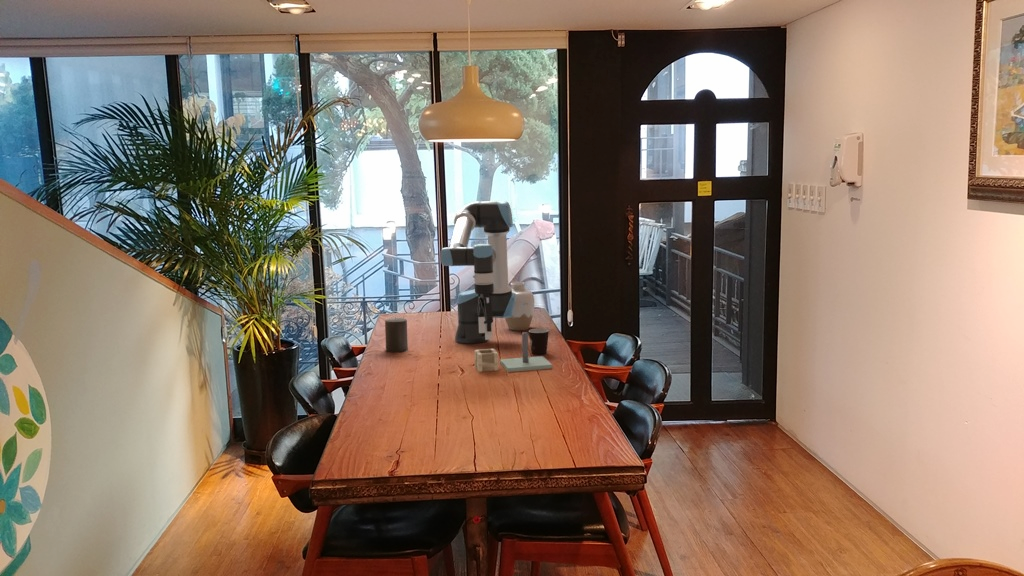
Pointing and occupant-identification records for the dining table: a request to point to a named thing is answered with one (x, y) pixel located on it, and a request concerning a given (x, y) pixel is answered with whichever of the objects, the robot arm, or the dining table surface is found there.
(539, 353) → the coffee mug
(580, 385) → the dining table surface
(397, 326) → the pillar candle
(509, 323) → the vase
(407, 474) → the dining table surface
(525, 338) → the rod stand
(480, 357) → the wooden square ring
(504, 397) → the dining table surface
